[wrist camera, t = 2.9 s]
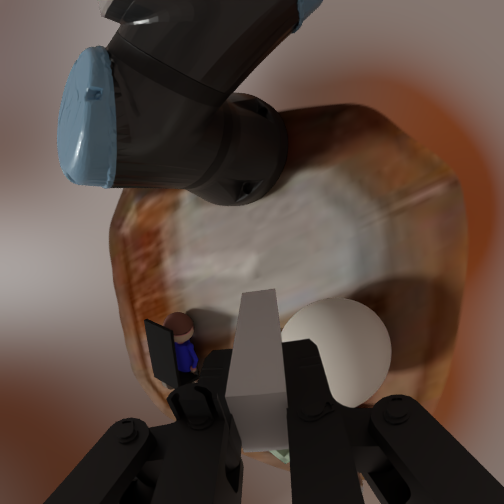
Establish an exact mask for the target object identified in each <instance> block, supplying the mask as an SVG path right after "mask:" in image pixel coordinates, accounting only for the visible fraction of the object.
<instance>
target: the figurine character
mask: <svg viewBox="0 0 504 504" xmlns="http://www.w3.org/2000/svg"><path fill="white" fill-rule="evenodd" d="M144 323H145V329H146V335H147V341H148V347H149V353H150V358H151V363H152V368H153V373H154V377H156V378H157V379H159V380H160V381H162V384H163V386H165V387H166V388H168V389H176V388H178V387H180V386H183V385H185V384H189V383H195V382H194V381H195V380H197V379H198V378H199V374H198V369H197V362H198V358H197V355H196V353H195V351H194V349H193V348H194V345H193V344H192V343H190V340H189V339H190V338H191V337H192V335H193V333H194V324H193V321H192V320H191V318H190V317H189V316H188V315H186V314H184V313H181V312H175V313H172V314H170V315H168V316H167V317H166V319H165V321H164V324H163V326H162V325H159V324H157V323H155V322H153V321H151V320H148V319H145V320H144ZM193 359H194V361H193ZM191 371H192V372H195V374H193V373H191Z"/></svg>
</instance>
